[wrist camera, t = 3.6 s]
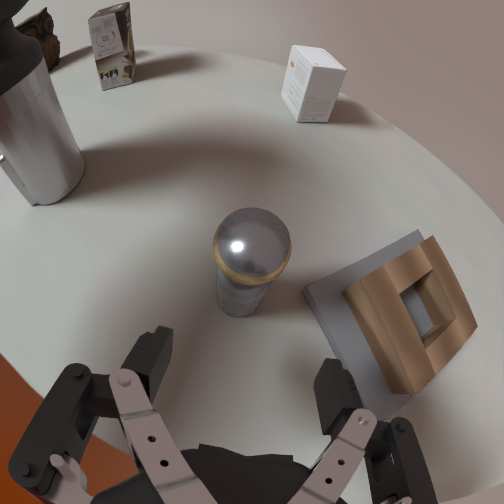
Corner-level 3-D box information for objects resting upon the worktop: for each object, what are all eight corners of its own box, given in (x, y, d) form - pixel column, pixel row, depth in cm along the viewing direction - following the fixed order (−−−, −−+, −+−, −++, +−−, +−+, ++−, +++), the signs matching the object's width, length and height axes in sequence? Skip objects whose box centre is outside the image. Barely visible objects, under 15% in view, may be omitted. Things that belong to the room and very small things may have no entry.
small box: (327, 123, 39) (348, 71, 29) (295, 123, 38) (313, 65, 28) (309, 96, 42) (324, 48, 32) (279, 95, 41) (292, 43, 31)
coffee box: (133, 83, 39) (123, 9, 25) (101, 91, 38) (86, 20, 23) (137, 64, 43) (130, 0, 28) (108, 71, 41) (98, 9, 27)
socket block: (391, 394, 21) (415, 394, 18) (341, 292, 25) (360, 278, 22) (454, 333, 25) (477, 326, 21) (413, 250, 29) (432, 235, 25)
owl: (63, 56, 47) (52, 3, 29) (61, 69, 43) (47, 8, 25) (27, 75, 43) (12, 24, 25) (21, 91, 39) (1, 34, 21)
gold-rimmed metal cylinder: (226, 326, 24) (233, 289, 13) (208, 284, 26) (201, 218, 15) (269, 308, 26) (307, 258, 15) (249, 268, 27) (271, 196, 16)
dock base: (368, 424, 21) (375, 426, 20) (302, 291, 27) (306, 286, 25) (463, 336, 26) (470, 334, 25) (411, 234, 31) (418, 229, 30)
